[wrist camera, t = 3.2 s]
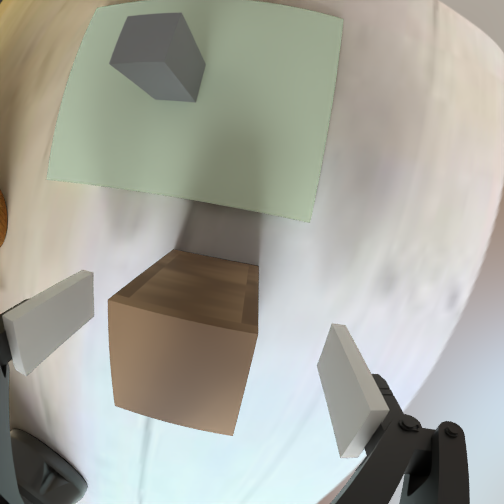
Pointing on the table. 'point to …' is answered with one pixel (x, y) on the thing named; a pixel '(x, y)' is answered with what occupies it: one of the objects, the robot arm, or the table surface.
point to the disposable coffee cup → (2, 219)
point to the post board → (202, 103)
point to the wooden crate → (185, 340)
